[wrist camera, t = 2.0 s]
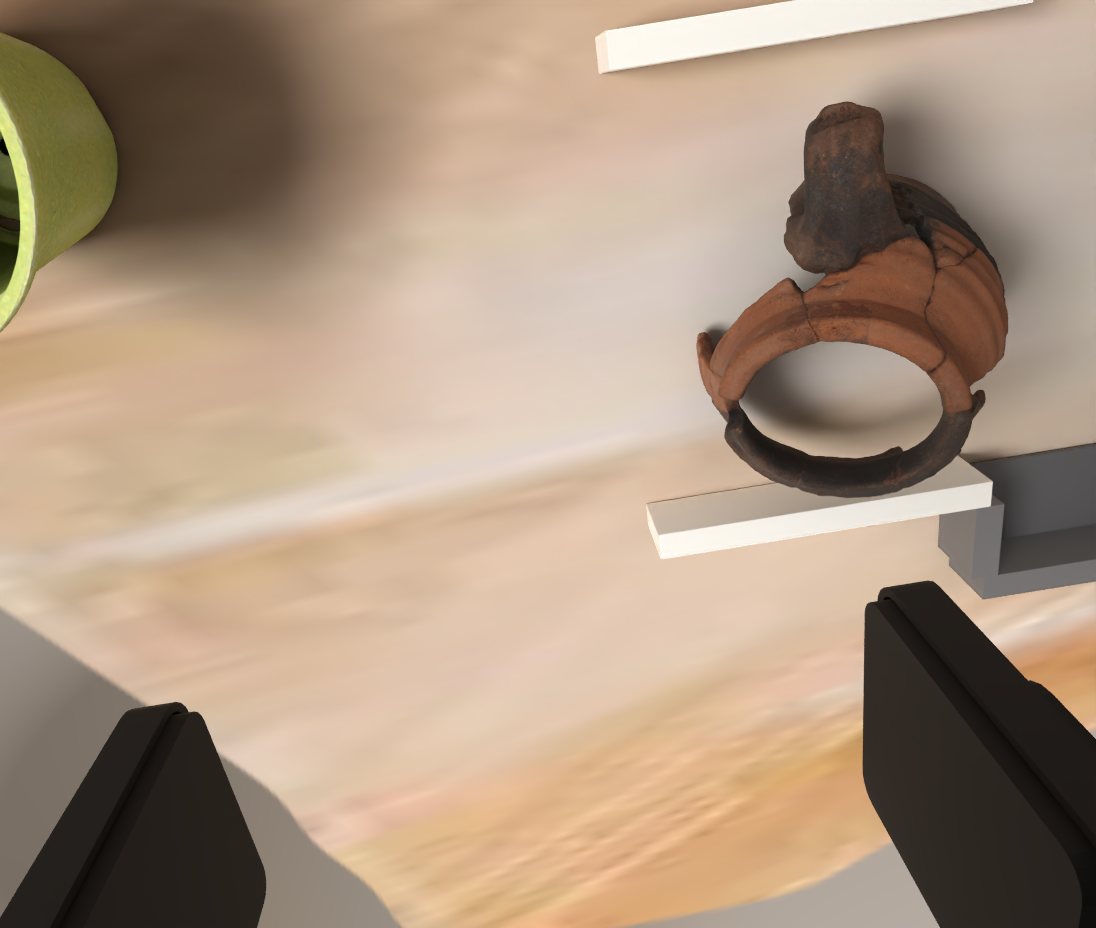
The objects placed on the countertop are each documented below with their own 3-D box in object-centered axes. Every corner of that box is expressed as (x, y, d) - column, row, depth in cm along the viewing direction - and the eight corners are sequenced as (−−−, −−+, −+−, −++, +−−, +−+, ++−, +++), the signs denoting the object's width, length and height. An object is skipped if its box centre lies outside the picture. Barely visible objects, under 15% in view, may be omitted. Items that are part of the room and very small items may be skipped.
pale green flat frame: (1572, -280, 23) (1691, -323, 21) (1349, 501, 33) (1412, 530, 31) (578, -120, 23) (587, -145, 21) (658, 612, 33) (670, 649, 31)
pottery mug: (1001, 340, 30) (1026, 509, 25) (746, 376, 34) (720, 526, 29) (979, 3, 23) (1008, 139, 17) (659, 102, 27) (604, 235, 22)
